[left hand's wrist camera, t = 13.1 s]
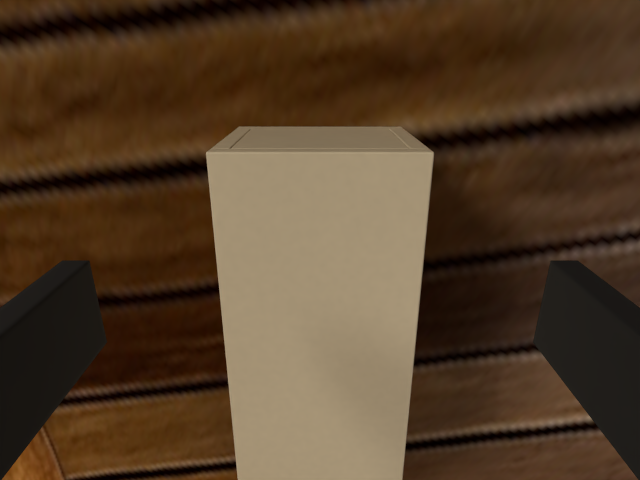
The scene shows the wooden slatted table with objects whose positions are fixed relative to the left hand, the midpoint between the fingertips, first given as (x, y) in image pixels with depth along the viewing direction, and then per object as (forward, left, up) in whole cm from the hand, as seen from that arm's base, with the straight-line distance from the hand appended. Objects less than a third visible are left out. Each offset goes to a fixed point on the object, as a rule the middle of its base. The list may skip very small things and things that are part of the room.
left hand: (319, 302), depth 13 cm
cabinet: (+1, +7, -16) cm, 17 cm away
